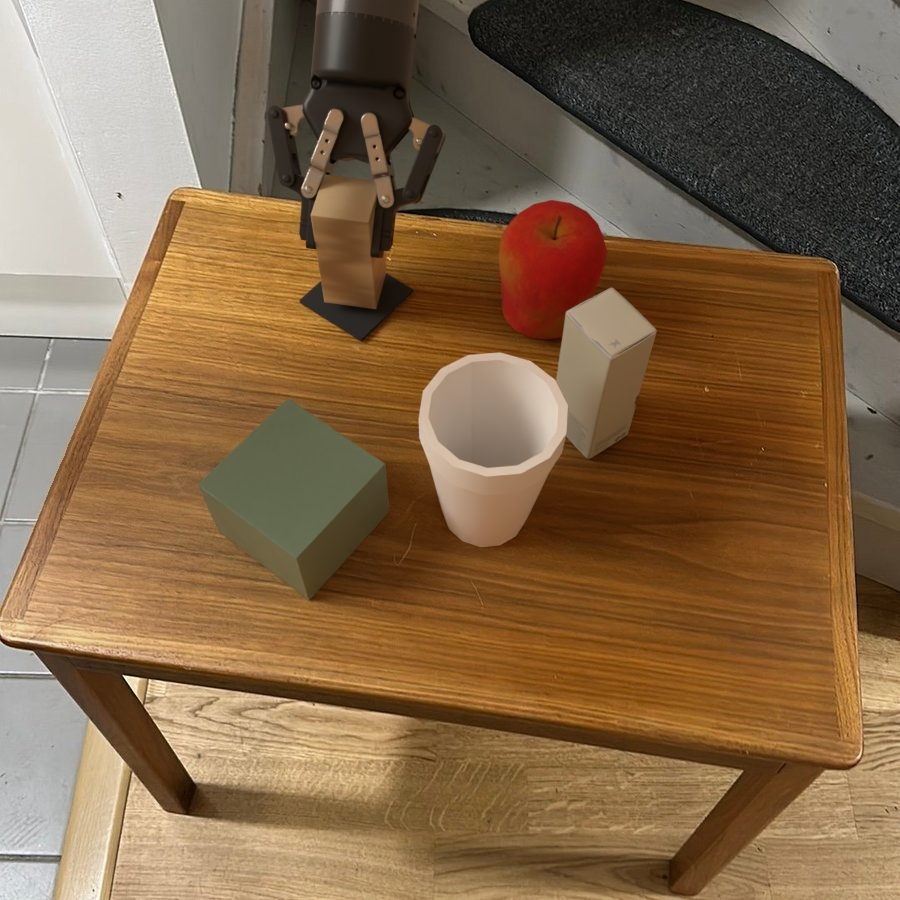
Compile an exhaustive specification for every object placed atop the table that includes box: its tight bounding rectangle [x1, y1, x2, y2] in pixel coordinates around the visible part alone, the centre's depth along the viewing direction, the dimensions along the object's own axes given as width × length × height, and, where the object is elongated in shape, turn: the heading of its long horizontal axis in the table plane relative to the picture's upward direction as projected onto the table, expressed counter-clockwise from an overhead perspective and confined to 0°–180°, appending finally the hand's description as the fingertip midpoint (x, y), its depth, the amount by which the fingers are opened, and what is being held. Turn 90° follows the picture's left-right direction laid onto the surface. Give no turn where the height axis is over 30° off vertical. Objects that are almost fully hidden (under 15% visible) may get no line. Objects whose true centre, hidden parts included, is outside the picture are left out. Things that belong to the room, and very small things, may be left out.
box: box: [555, 287, 657, 460], centre depth 68 cm, size 5×4×13 cm
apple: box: [498, 199, 608, 340], centre depth 74 cm, size 9×8×12 cm
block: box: [311, 174, 388, 309], centre depth 75 cm, size 4×4×10 cm
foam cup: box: [418, 351, 568, 548], centre depth 64 cm, size 10×9×13 cm
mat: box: [299, 272, 415, 343], centre depth 80 cm, size 7×7×1 cm
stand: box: [197, 397, 390, 601], centre depth 65 cm, size 9×9×7 cm
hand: (345, 252), depth 73 cm, fingers closed on block, 4 cm apart
